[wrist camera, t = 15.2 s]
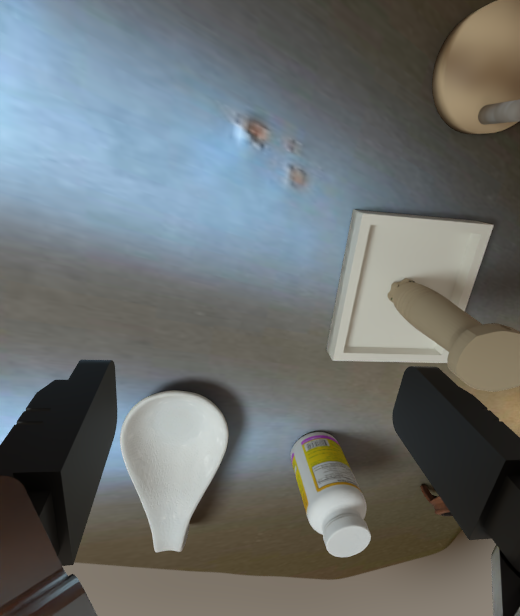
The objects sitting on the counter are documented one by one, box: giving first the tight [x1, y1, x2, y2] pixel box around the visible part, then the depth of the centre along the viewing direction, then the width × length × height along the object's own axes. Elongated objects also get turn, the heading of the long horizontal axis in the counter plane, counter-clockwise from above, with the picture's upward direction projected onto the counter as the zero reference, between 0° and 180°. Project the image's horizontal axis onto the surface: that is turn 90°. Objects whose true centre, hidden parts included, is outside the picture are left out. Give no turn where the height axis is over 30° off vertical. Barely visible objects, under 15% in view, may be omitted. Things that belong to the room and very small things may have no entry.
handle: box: [388, 279, 520, 392], centre depth 33 cm, size 5×6×15 cm
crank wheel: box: [432, 0, 520, 134], centre depth 31 cm, size 10×10×6 cm
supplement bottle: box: [291, 432, 371, 557], centre depth 43 cm, size 7×7×13 cm
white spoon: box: [120, 390, 229, 552], centre depth 43 cm, size 24×12×7 cm, turn 174°
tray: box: [326, 210, 494, 363], centre depth 40 cm, size 16×14×2 cm
